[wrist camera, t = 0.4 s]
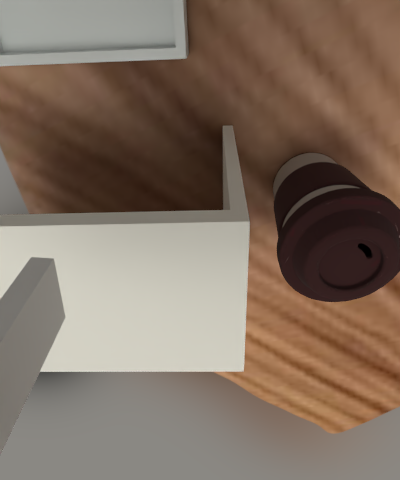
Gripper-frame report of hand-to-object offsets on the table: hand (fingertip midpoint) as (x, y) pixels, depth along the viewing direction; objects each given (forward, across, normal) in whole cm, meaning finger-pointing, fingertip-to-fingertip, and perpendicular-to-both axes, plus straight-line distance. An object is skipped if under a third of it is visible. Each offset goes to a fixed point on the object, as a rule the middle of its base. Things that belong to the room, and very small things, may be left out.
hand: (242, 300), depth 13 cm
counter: (+27, -9, -8) cm, 29 cm away
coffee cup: (+27, +10, -7) cm, 29 cm away
